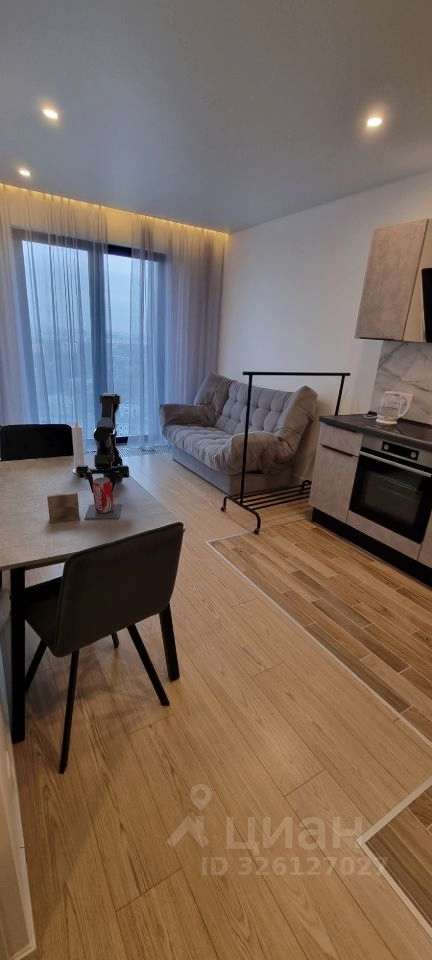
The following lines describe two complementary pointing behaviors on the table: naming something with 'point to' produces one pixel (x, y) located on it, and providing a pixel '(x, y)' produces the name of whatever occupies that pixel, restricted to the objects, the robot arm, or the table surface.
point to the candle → (78, 445)
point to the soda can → (103, 495)
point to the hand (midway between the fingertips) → (102, 492)
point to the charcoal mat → (96, 515)
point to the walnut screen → (63, 507)
